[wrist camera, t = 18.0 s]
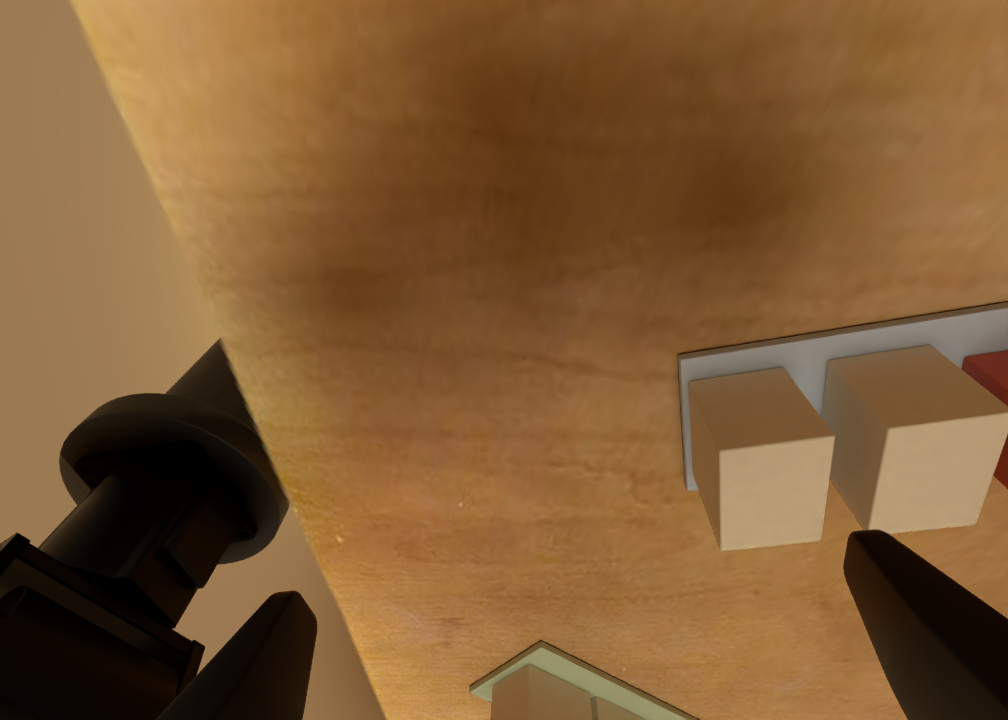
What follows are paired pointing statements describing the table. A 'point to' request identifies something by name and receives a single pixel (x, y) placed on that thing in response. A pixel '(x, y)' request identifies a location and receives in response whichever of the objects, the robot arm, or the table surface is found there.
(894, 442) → the blocks on base plate
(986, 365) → the orange upright bar
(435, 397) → the table surface
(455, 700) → the table surface
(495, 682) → the pale green base plate
